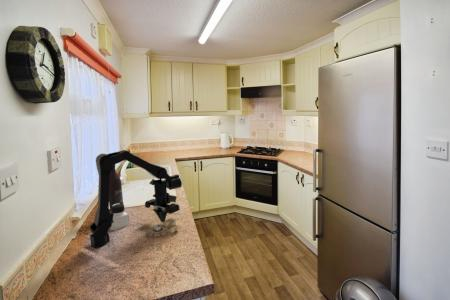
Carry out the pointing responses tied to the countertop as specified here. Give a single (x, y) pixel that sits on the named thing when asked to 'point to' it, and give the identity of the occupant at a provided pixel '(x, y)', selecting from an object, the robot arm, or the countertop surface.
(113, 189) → the wine bottle
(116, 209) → the printed carton box
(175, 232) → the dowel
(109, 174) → the robot arm
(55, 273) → the countertop surface
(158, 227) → the grey shiny ball
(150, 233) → the ring with handle
